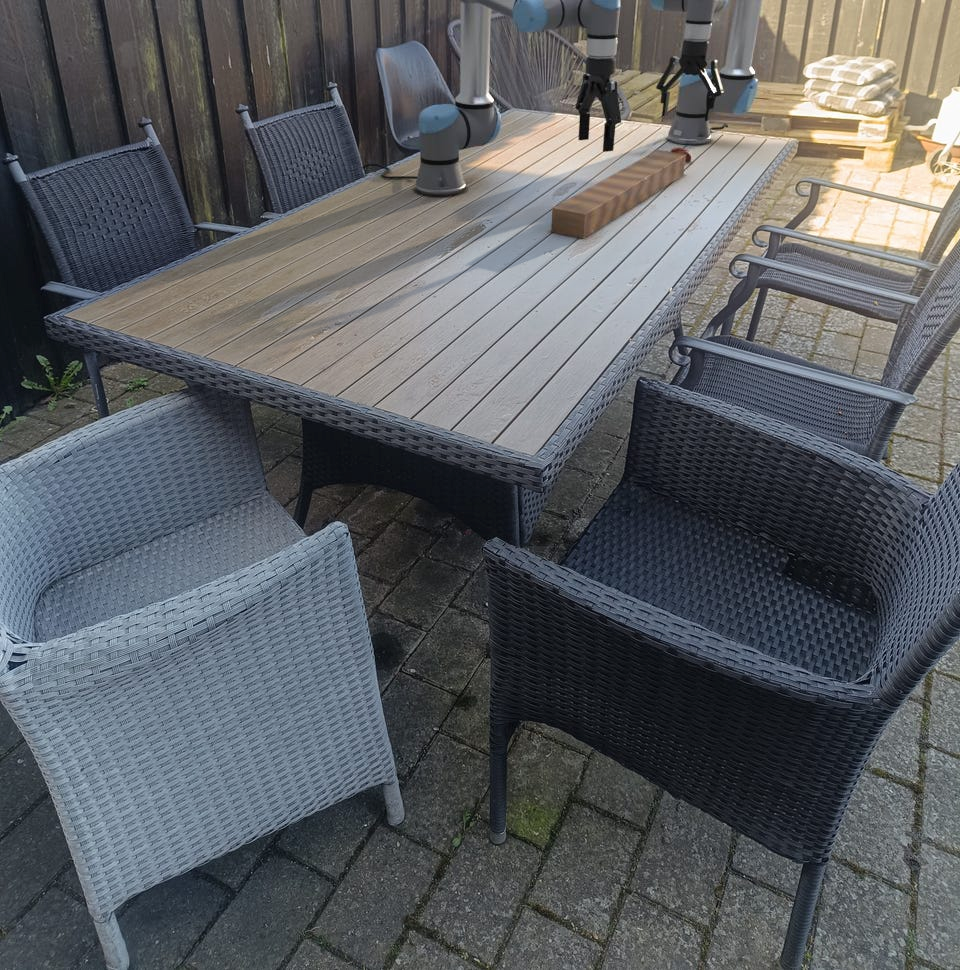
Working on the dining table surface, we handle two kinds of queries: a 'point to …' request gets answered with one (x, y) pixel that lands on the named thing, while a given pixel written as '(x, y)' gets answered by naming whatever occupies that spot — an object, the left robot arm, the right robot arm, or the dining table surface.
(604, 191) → the wooden beam
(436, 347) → the dining table surface
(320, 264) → the dining table surface
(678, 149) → the dark red lumpy piece
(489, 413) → the dining table surface
